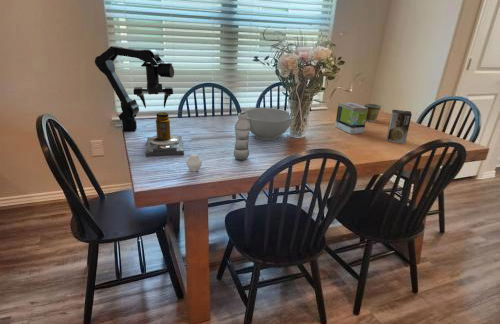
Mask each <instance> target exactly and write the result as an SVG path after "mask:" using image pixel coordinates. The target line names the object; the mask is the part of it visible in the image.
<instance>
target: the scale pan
mask: <svg viewBox="0 0 500 324" xmlns="http://www.w3.org/2000/svg"><path fill="white" fill-rule="evenodd" d="M170 136H172V137H173V138H172V139H171V140H169V141H168V142H156V141H152V140H153V139H155V138H156V137H157V135H154V136H151V137H152V138H151V139H150V143H151V144H152V145H168V144H177V143H178V142H179V138H178V137H177V136H178V135H173V134H170Z"/></svg>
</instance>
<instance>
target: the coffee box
mask: <svg viewBox="0 0 500 324" xmlns="http://www.w3.org/2000/svg"><path fill="white" fill-rule="evenodd" d="M390 115H391V116H390V121H389V124H388V129H387V134H386V142H387V141H389V142H388V143H397V144H402V145H403V144H406V142H407V136H408V132H409V128H410V124H411V120H412V115H413V114H412V112H411V111H410V110H409V111H408V110H403V109H392V110H391V114H390Z"/></svg>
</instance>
